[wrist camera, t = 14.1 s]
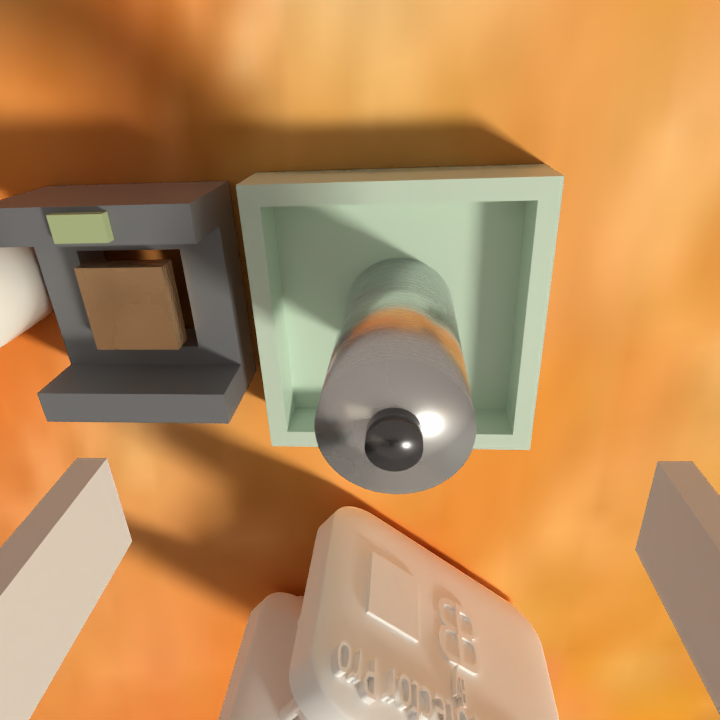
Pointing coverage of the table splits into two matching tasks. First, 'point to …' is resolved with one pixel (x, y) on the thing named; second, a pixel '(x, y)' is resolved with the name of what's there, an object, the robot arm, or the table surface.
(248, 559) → the table surface
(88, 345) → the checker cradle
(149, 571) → the table surface
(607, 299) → the table surface
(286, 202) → the tray
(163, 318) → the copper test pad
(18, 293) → the cup
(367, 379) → the steel cell
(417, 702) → the cable organizer
